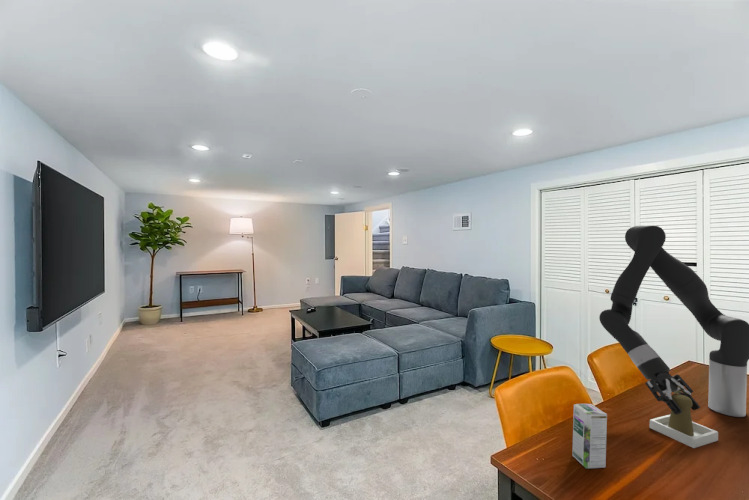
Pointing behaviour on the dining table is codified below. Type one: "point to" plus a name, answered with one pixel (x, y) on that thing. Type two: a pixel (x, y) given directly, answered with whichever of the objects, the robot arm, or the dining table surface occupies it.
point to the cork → (682, 415)
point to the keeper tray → (698, 439)
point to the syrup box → (589, 436)
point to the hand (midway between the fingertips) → (688, 411)
